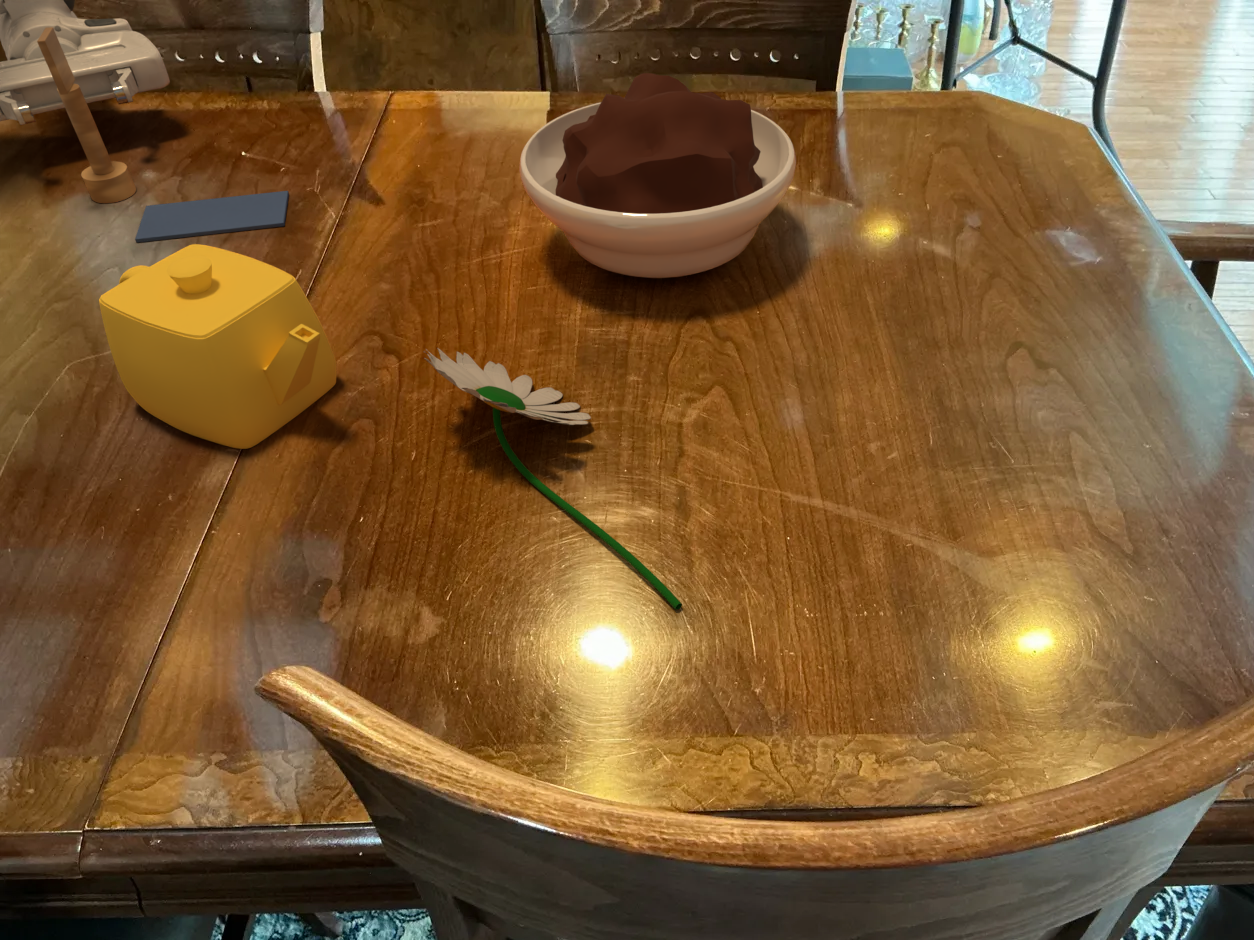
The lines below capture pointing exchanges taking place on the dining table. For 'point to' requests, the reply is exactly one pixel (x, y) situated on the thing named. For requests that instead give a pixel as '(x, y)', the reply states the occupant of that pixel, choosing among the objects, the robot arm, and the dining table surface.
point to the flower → (518, 398)
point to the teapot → (217, 344)
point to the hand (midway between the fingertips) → (74, 105)
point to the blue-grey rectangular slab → (213, 216)
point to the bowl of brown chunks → (658, 177)
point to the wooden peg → (86, 129)
